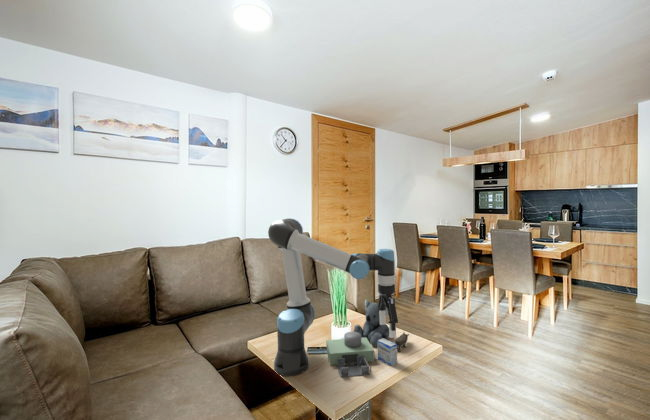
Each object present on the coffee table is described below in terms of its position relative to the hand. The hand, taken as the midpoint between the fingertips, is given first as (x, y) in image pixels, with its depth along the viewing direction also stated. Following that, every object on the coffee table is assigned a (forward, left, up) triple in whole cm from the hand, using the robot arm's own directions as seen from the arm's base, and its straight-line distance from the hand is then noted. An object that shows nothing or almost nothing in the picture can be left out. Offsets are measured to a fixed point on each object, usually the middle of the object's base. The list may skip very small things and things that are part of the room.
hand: (387, 330), depth 133 cm
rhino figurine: (+12, +12, -14) cm, 22 cm away
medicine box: (0, 0, -14) cm, 14 cm away
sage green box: (-16, +7, -14) cm, 22 cm away
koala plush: (+1, +23, -14) cm, 27 cm away
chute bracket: (-17, -5, -14) cm, 23 cm away
